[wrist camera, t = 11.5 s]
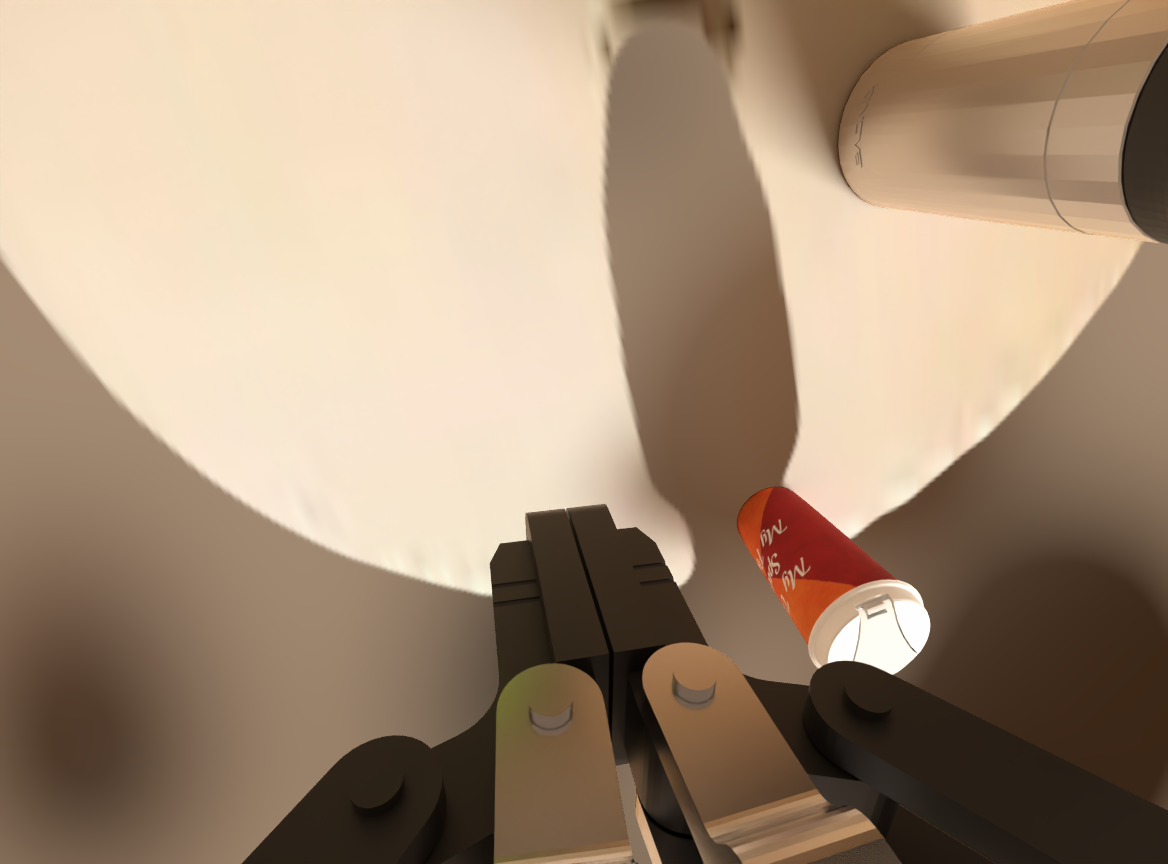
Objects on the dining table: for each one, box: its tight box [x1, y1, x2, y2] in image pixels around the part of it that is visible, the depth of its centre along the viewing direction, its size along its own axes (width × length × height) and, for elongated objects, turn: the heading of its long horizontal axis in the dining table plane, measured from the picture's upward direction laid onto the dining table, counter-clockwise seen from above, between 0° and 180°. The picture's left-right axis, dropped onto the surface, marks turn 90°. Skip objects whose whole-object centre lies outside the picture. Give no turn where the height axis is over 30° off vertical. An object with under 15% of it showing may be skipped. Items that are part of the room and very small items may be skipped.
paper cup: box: [737, 487, 930, 675], centre depth 41 cm, size 8×8×14 cm
